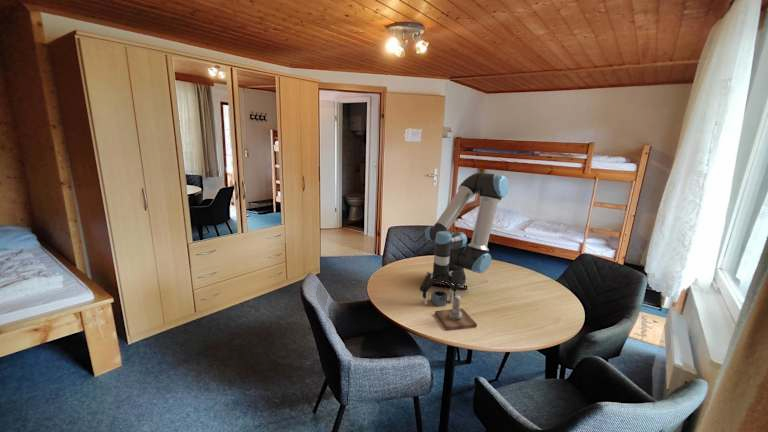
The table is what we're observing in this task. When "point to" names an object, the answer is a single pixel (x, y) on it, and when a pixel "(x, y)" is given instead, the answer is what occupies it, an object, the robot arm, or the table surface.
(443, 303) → the collar
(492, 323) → the table surface
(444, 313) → the shaft block
